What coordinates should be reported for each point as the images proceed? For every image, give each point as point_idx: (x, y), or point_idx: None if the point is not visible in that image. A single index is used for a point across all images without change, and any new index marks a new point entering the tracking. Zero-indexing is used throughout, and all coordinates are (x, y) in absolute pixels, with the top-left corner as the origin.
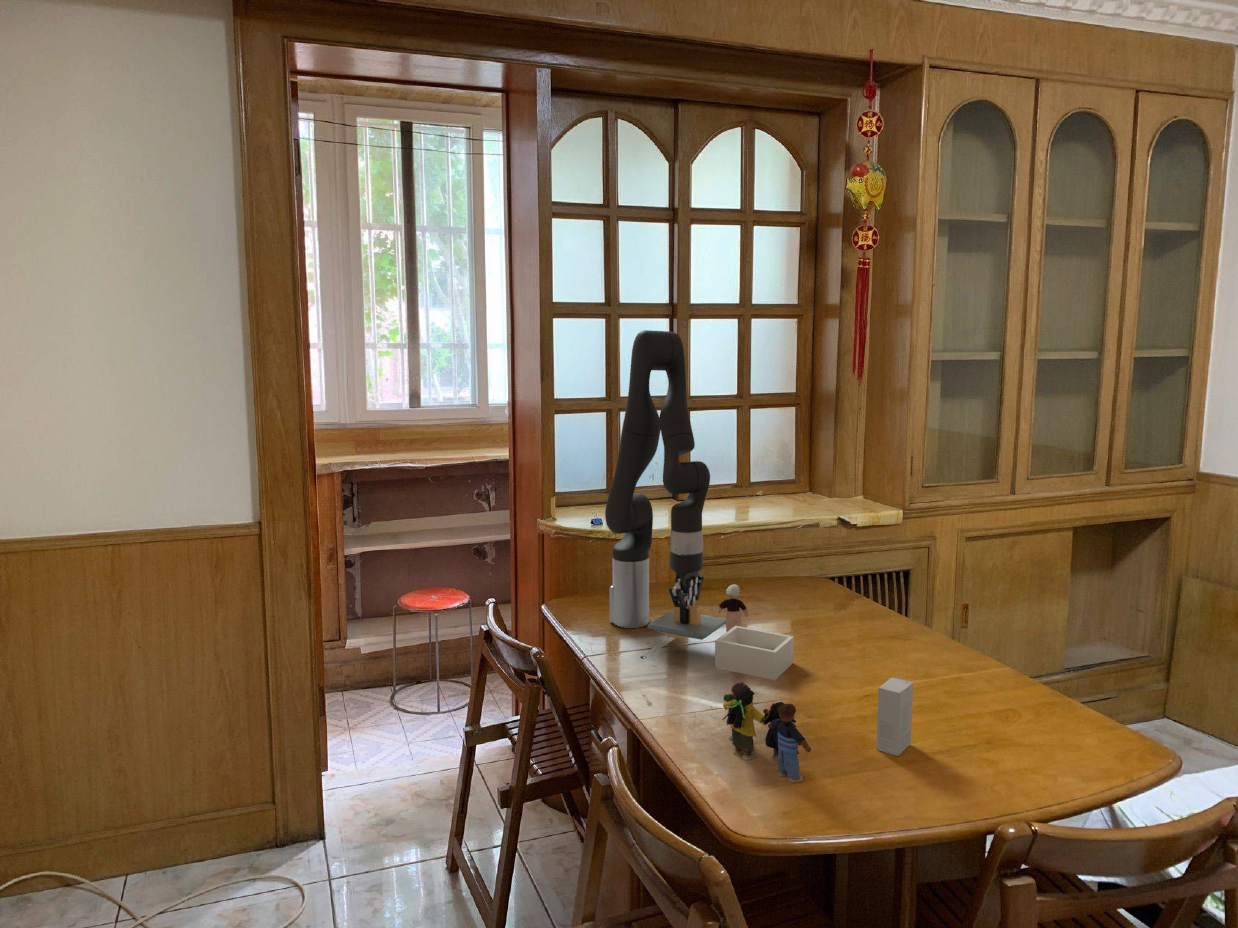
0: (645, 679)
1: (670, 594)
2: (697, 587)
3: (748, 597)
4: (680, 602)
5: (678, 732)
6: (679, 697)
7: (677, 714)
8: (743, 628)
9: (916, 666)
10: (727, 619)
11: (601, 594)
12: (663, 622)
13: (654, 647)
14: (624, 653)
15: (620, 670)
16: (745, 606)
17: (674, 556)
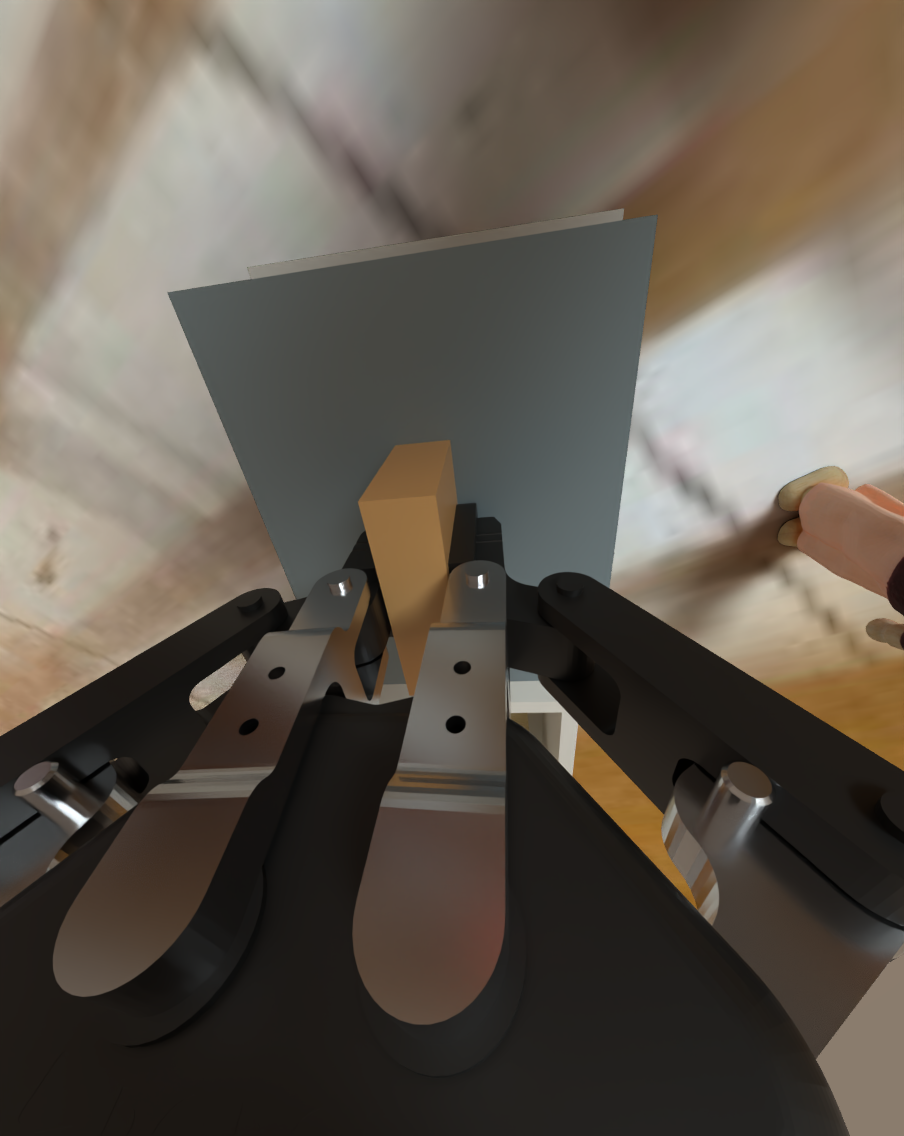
0: (125, 463)
1: (7, 735)
2: (629, 762)
3: None
4: (204, 709)
5: (48, 688)
6: (154, 618)
7: (91, 654)
8: (560, 731)
9: (671, 864)
10: (861, 522)
11: None
12: (312, 389)
13: (401, 252)
14: (212, 94)
15: (61, 293)
16: None
17: None
